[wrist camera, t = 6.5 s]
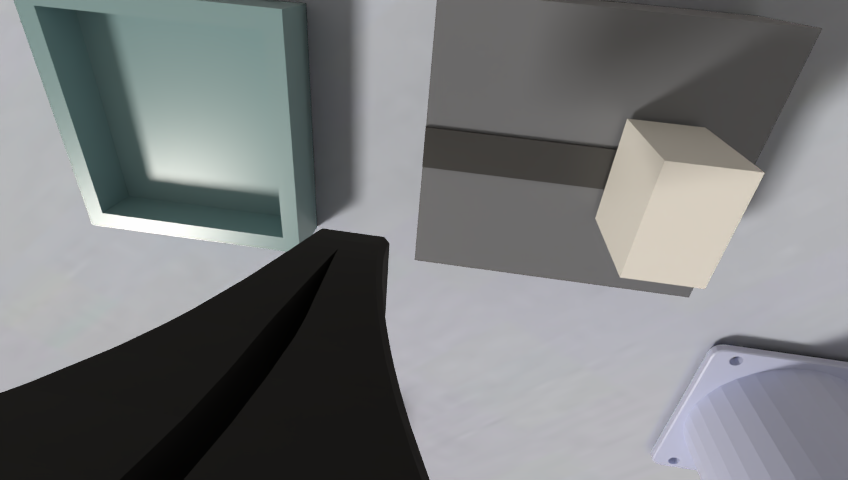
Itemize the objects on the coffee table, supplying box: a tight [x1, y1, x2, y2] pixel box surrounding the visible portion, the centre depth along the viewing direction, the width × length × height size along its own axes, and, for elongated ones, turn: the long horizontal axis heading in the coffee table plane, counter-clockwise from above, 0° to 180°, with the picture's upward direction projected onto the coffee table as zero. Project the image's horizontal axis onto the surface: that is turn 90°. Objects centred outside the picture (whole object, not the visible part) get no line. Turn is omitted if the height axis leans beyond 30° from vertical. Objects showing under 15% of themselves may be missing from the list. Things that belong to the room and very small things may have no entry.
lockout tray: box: [14, 0, 317, 252], centre depth 16 cm, size 8×8×2 cm
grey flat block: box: [415, 0, 822, 297], centre depth 14 cm, size 9×8×3 cm
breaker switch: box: [595, 119, 765, 289], centre depth 11 cm, size 2×3×3 cm, turn 175°
